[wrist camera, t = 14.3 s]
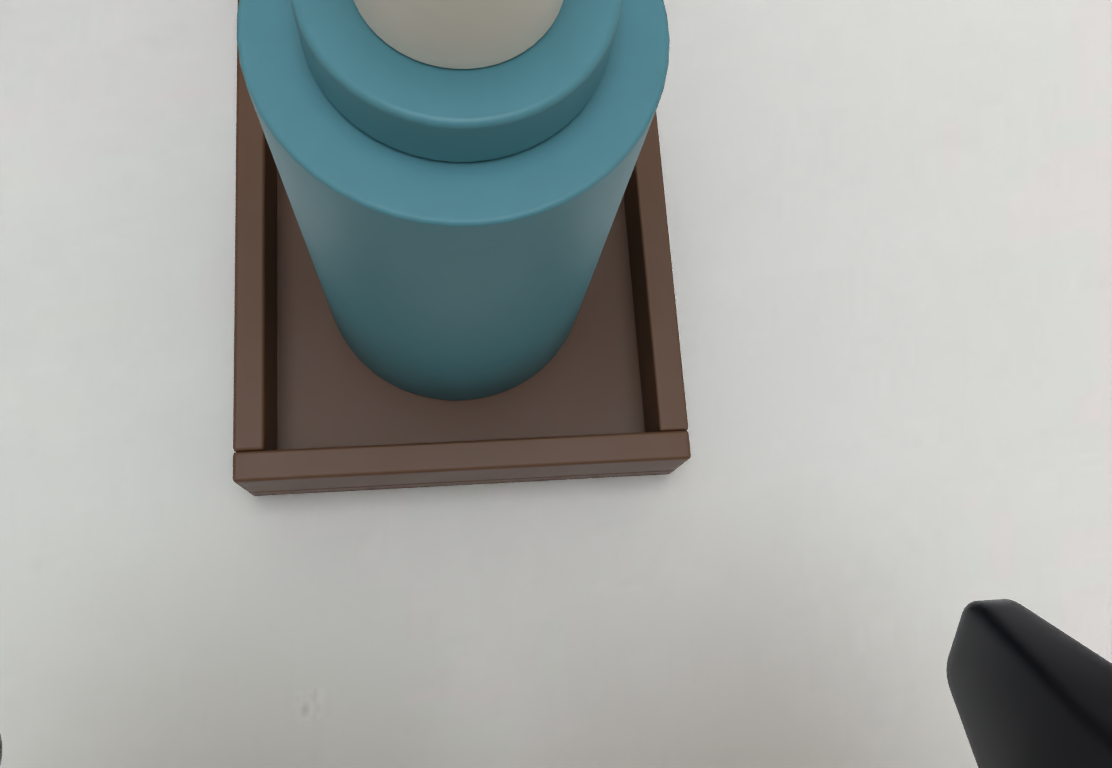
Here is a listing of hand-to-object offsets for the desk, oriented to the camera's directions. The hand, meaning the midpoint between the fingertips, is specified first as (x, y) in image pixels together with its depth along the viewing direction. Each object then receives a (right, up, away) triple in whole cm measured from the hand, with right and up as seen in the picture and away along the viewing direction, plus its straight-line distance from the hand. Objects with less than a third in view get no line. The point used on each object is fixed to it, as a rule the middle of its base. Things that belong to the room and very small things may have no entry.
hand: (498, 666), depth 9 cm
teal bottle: (-2, +5, +13) cm, 14 cm away
